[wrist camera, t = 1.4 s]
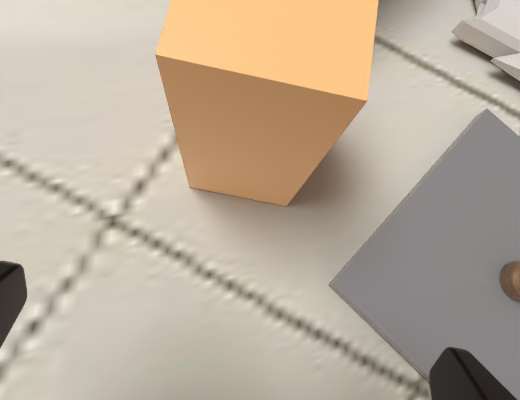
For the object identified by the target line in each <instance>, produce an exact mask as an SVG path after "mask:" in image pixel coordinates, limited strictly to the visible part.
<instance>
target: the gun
mask: <svg viewBox="0 0 520 400" xmlns="http://www.w3.org/2000/svg"><path fill="white" fill-rule="evenodd" d="M475 5H476V11H477V15H476V17H473V18H469V19H466V20H463V21H461V22H460V23H459V24H458V25H457V26H456V27H455V28H454V29H453V30H452V31H451V32H452V33H453V34H454V35H455V36H456V37H457V38H458V39H460V40H462V41H463V42H465V43H467V44H469V45H471V46H473V47H474V48H476V49H478V50H480V51H482V52H484V53H485V54H487V55H489V56H491V57H493V59H492V60H490V61H491V62H492V63H494V64H495V65H497V66H498V67H500V68H501V69H503V70H504V71H505V72H507V73H508V74H510V75H511V76H513V77H514V78H516V79H517V80H519V81H520V0H475Z"/></svg>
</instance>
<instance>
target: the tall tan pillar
mask: <svg viewBox="0 0 520 400" xmlns="http://www.w3.org/2000/svg"><path fill="white" fill-rule="evenodd" d="M377 9H378V0H171V2H170V5H169V9H168V12H167V16H166V19H165V23H164V26H163V30H162V33H161V37H160V40H159V44H158V47H157V51H156V54H155V55H156V59H157V63H158V67H159V71H160V75H161V78H162V82H163V86H164V90H165V94H166V98H167V102H168V106H169V110H170V113H171V117H172V121H173V125H174V129H175V133H176V137H177V141H178V145H179V148H180V152H181V156H182V160H183V164H184V168H185V172H186V176H187V180H188V183H189V187H191V188H196V189H201V190H206V191H211V192H216V193H221V194H226V195H231V196H236V197H242V198H247V199H252V200H257V201H262V202H267V203H272V204H277V205H282V206H287V205H288V204H289V202H290V201H291V200H292V198H293V197H294V196H295V195H296V193H297V192H298V191H299V189H300V188H301V187H302V185H303V184H304V183H305V181H306V180H307V179H308V178H309V176H310V175H311V174H312V172H313V171H314V170H315V168H316V167H317V166H318V165H319V163H320V162H321V161H322V159H323V158H324V157H325V155H326V154H327V153H328V151H329V150H330V149H331V148H332V146H333V145H334V144H335V142H336V141H337V140H338V138H339V137H340V136H341V135H342V133H343V132H344V131H345V129H346V128H347V127H348V125H349V124H350V123H351V121H352V120H353V119H354V118H355V116H356V115H357V114H358V112H359V111H360V110H361V108H362V107H363V106H364V104H365V103H366V102H367V99H368V90H369V81H370V72H371V63H372V54H373V45H374V36H375V27H376V18H377Z"/></svg>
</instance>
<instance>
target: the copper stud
mask: <svg viewBox="0 0 520 400" xmlns="http://www.w3.org/2000/svg"><path fill="white" fill-rule="evenodd" d="M499 281H500V285H501V288H502V290H503V292H504V293H505V294H506V295H507V296H508V297H509V298H510V299H512V300H514V301H517V302H520V260H519V261H511V262H508V263H506V264H505V265H504V266H503V267H502V269H501V271H500V275H499Z"/></svg>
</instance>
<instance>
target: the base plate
mask: <svg viewBox="0 0 520 400" xmlns="http://www.w3.org/2000/svg"><path fill="white" fill-rule="evenodd" d="M519 260H520V137H519V136H518V135H517V134H516V133H515V132H513V131H512V130H511V129H510V128H509V127H508V126H506V125H505V124H504V123H503V122H502V121H501V120H500V119H498V118H497V117H496V116H495V115H494V114H493V113H491V112H490V111H489V110H488V109H486V110H484V111H483V112H482V113H480V114H479V115H477V116H476V117H475V119H474V120H473V121H472V122H471V123H470V124H469V125H468V127H467V128H466V129H465V130H464V131H463V132H462V133H461V134H460V136H459V137H458V138H457V139H456V140H455V141H454V142H453V144H452V145H451V146H450V147H449V148H448V149H447V150H446V152H445V153H444V154H443V155H442V156H441V157H440V158H439V160H438V161H437V162H436V163H435V164H434V165H433V166H432V167H431V169H430V170H429V171H428V172H427V173H426V174H425V175H424V177H423V178H422V179H421V180H420V181H419V182H418V183H417V185H416V186H415V187H414V188H413V189H412V190H411V191H410V193H409V194H408V195H407V196H406V197H405V198H404V199H403V201H402V202H401V203H400V204H399V205H398V206H397V207H396V208H395V210H394V211H393V212H392V213H391V214H390V215H389V216H388V218H387V219H386V220H385V221H384V222H383V223H382V224H381V226H380V227H379V228H378V229H377V230H376V231H375V232H374V234H373V235H372V236H371V237H370V238H369V239H368V240H367V241H366V243H365V244H364V245H363V246H362V247H361V248H360V249H359V251H358V252H357V253H356V254H355V255H354V256H353V257H352V259H351V260H350V261H349V262H348V263H347V264H346V265H345V267H344V268H343V269H342V270H341V271H340V272H339V273H338V274H337V276H336V277H335V278H334V279H333V280H332V281H331V282H330V284H329V286H330V287H331V288H332V289H333V290H335V291H336V292H337V293H338V294H339V295H340V296H341V297H342V298H343V299H344V300H345V301H346V302H347V303H348V304H349V305H350V306H351V307H352V308H353V309H354V310H355V311H356V312H357V313H358V314H359V315H360V316H361V317H362V318H363V319H364V320H365V321H366V322H367V323H368V324H369V325H370V326H371V327H372V328H373V329H375V330H376V331H377V332H378V333H379V334H380V335H381V336H382V337H383V338H384V339H385V340H386V341H387V342H388V343H389V344H390V345H391V346H392V347H393V348H394V349H395V350H396V351H397V352H398V353H399V354H400V355H401V356H402V357H403V358H404V359H405V360H406V361H407V362H408V363H409V364H410V365H411V366H412V367H414V368H415V369H416V370H417V371H418V372H419V373H420V374H421V375H422V376H423V377H424V378H425V379H426V380H427V381H428V382H429V372H430V369H431V367H432V366H433V364H434V363H435V362H436V360H437V359H438V357H439V356H440V355H441V353H442V352H443V350H444V349H445V348H447V347H455V348H460V349H465V350H467V351H469V352H470V353H471V354H472V355H473V356H474V357H475V358H476V359H477V360H478V361H479V362H480V363H481V364H482V365H483V366H484V367H485V368H486V369H487V370H488V371H489V372H490V373H491V374H492V375H493V376H494V377H495V378H496V379H497V380H498V381H499V382H500V383H501V384H502V385H503V386H504V387H505V388H506V389H507V390H508V391H509V392H510V393H511V394H512V395H513V396H514V397H515V398H516V399H517V400H520V302H517V301H514V300H512V299H510V298H509V297H508V296H507V295H506V294H505V293H504V292H503V290H502V288H501V285H500V281H499V275H500V271H501V269H502V267H503V266H504V265H505V264H506V263H508V262H511V261H519Z"/></svg>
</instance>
